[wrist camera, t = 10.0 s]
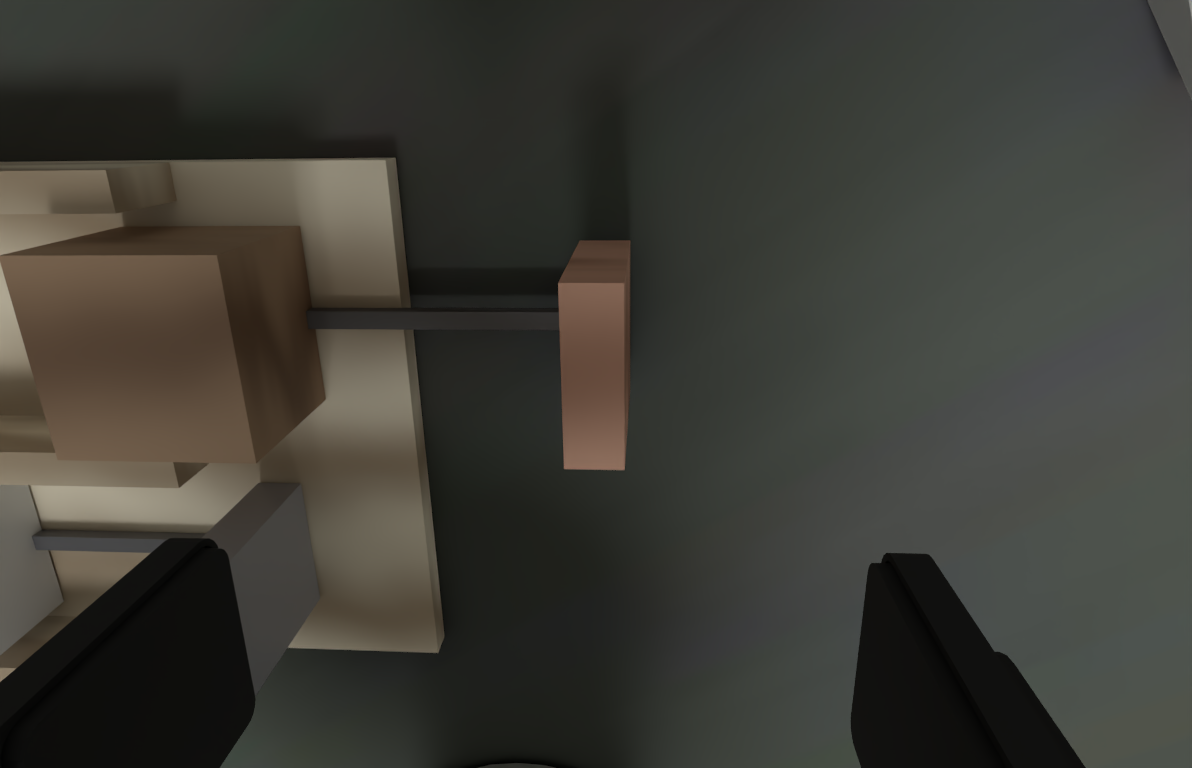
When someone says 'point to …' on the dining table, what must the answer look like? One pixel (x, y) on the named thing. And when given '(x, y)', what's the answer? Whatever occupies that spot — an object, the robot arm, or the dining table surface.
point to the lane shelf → (306, 455)
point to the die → (1176, 33)
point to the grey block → (247, 533)
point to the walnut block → (262, 342)
